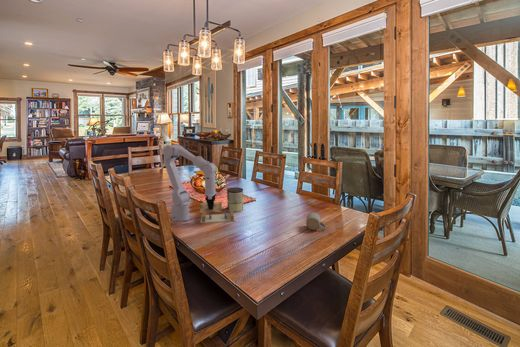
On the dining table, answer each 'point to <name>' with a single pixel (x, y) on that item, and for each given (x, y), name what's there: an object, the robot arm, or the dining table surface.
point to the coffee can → (235, 199)
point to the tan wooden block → (216, 207)
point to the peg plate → (218, 218)
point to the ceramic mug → (314, 222)
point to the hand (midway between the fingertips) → (211, 208)
